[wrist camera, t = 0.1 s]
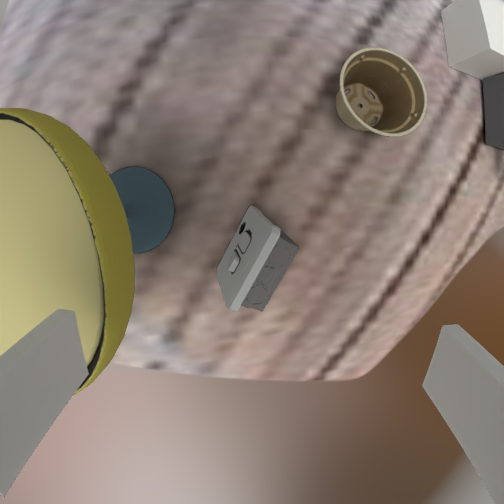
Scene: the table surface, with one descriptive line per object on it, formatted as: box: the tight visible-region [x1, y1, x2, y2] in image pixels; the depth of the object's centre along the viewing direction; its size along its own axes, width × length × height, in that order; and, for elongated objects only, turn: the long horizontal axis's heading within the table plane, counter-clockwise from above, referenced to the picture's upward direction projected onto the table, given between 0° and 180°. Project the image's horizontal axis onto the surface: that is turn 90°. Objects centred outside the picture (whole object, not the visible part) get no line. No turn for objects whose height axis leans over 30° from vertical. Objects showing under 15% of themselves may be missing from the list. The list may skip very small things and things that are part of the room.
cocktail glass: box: [0, 108, 174, 395], centre depth 25 cm, size 18×18×25 cm
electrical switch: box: [216, 205, 299, 312], centre depth 34 cm, size 9×5×9 cm, turn 152°
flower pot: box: [336, 47, 427, 137], centre depth 29 cm, size 9×9×9 cm
